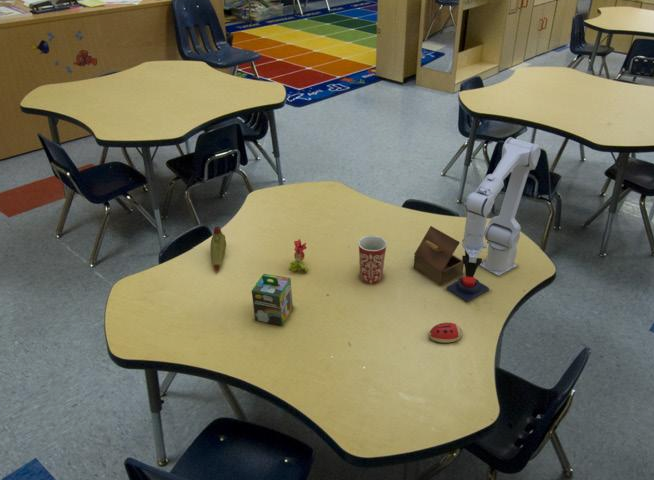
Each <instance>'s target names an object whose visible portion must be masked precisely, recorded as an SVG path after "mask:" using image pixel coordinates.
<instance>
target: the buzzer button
mask: <svg viewBox="0 0 654 480" xmlns="http://www.w3.org/2000/svg"><path fill="white" fill-rule="evenodd" d="M462 277H463V280H462V284H463V285H464V286H466V287H474V286H475V282H476V279H477V278H475V277H474V276H473V277H466V275H464V276H462Z"/></svg>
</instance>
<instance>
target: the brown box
mask: <svg viewBox="0 0 654 480" xmlns="http://www.w3.org/2000/svg"><path fill="white" fill-rule="evenodd" d="M412 268H413V270H414V271H416V272H418V273H419V274H421V275H422V276H424V277H426V278H427V279H429V280H431V281H432V282H434V283H435V284H437V285H438V286H443V285H445V284H447V283H449V282H451V281H453V280H455V279H456V278H458V277H459V278H460V277H462V275H463V274H464V268H465V265H464V263H463V260H462V258H459V257H457V256H455V254H453V255H452V257H451V258H450V260H449V262H448V263H447V265H446V267H445V268H444V270H443V272H441V271H440V270H438V269H436V268H435V267H433V266H432V265H430V264H428V263H427V262H425V261H424V260H422V259H420V258H419V257H417V256H416V255H414V256H413V267H412Z"/></svg>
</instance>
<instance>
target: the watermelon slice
mask: <svg viewBox="0 0 654 480" xmlns="http://www.w3.org/2000/svg"><path fill="white" fill-rule="evenodd" d="M428 336H429V338H430V339H431V340H433V341H435V342H438V343H441V344H442V343H443V344H444V343H445V344H446V343H454V342H457V341H459V340H460V339H462V337H463V330H462V328H461V326H460V325H459V324H457V323H455V322H442V323H438V324H436V325H434V326H433V327H432V328H431V329H430V331H429V333H428Z"/></svg>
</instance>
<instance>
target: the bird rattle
mask: <svg viewBox="0 0 654 480" xmlns="http://www.w3.org/2000/svg"><path fill="white" fill-rule="evenodd" d="M293 244H294V251H295V252H294V255H293V257H294V259H295V260H292V261H291V262H290V265H289V267H288V271H292V272H293V273H295V272H296V271H297V270H298V269H300V270H303V271H304V272H306V273H307V272H308V267H307V266H305V264H302V262H303V260H305V256H306V255H305V254H306V253H305V252H304V251H305V250H306V249H307V242H304V243H302V240H301V239H300V238H299V239H298V240H294V241H293Z"/></svg>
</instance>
